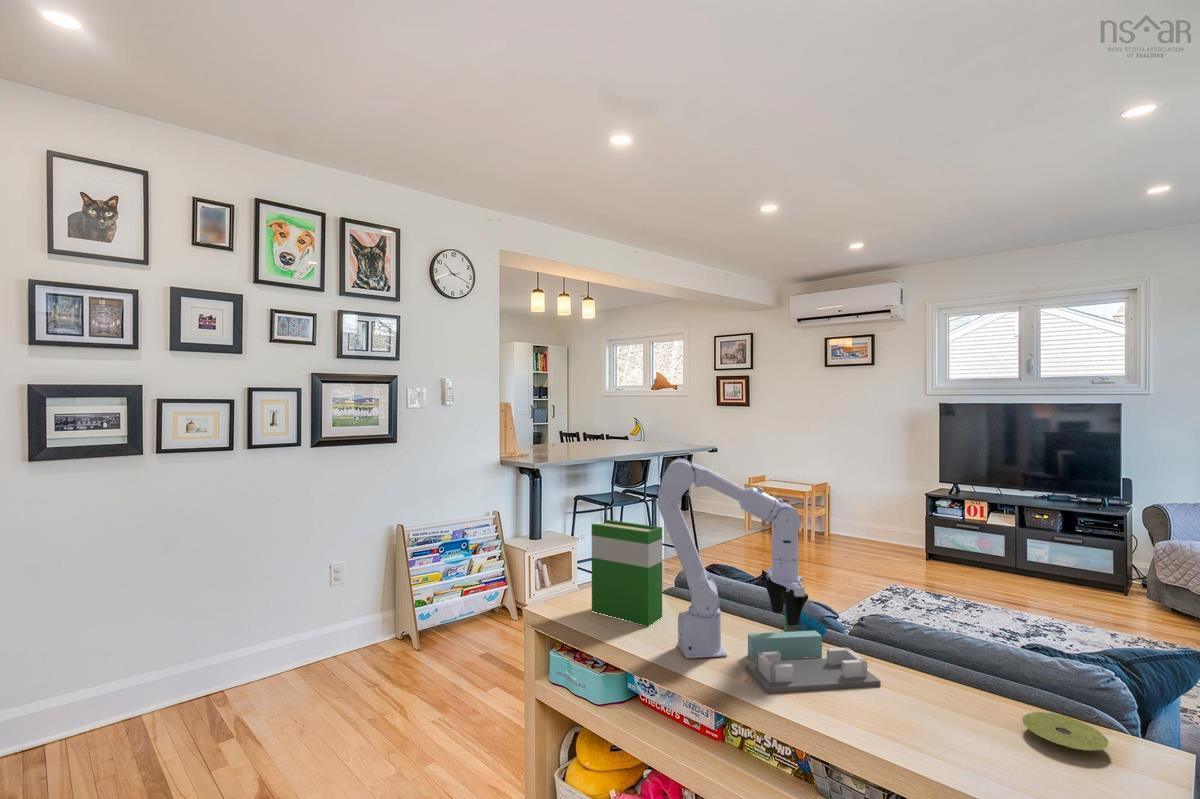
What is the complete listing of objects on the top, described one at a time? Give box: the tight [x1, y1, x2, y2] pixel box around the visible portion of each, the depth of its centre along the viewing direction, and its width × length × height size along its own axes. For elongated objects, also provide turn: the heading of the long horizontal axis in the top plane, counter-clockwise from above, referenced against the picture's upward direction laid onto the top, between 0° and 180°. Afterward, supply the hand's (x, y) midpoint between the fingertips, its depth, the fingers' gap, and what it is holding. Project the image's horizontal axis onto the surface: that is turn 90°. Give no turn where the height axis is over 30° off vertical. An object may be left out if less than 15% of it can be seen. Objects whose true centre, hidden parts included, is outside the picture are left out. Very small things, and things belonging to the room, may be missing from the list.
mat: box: [1021, 711, 1109, 751], centre depth 96 cm, size 11×11×2 cm
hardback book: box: [591, 519, 663, 627], centre depth 154 cm, size 18×7×24 cm, turn 56°
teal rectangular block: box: [747, 630, 823, 662], centre depth 129 cm, size 16×3×5 cm, turn 96°
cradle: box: [744, 647, 882, 694], centre depth 119 cm, size 24×11×4 cm, turn 97°
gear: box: [781, 611, 828, 638], centre depth 138 cm, size 11×6×10 cm
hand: (784, 618), depth 129 cm, fingers open, 7 cm apart
